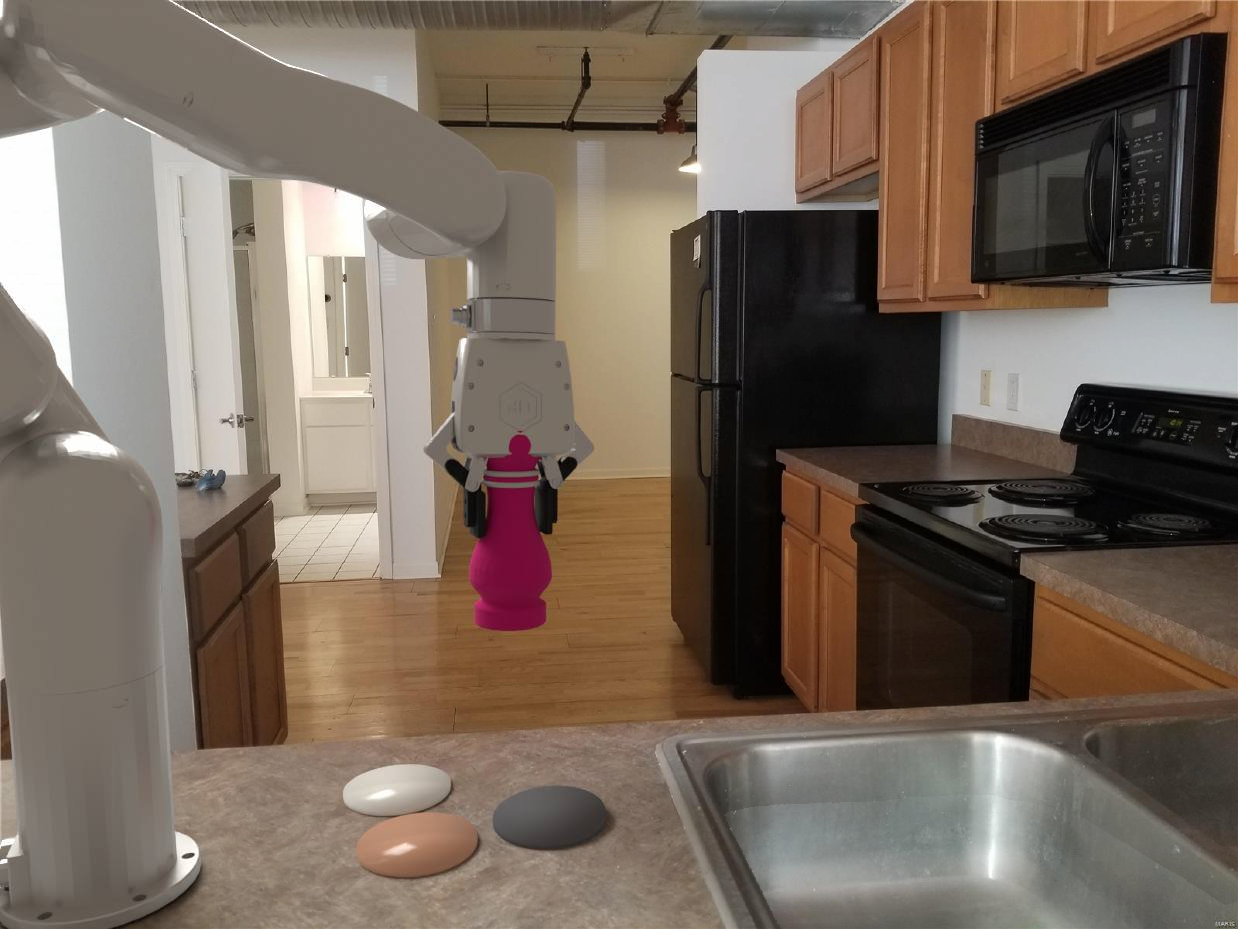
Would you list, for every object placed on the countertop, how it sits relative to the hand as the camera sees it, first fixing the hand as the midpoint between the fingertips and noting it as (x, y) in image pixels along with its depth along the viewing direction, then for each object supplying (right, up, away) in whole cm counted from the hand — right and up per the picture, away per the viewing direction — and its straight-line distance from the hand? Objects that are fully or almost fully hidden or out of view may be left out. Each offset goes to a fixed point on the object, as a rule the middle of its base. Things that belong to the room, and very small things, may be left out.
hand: (510, 531), depth 83 cm
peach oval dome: (-6, -23, -11) cm, 26 cm away
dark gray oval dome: (+4, -23, -7) cm, 24 cm away
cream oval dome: (-10, -22, -1) cm, 25 cm away
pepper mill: (0, -8, +1) cm, 8 cm away
